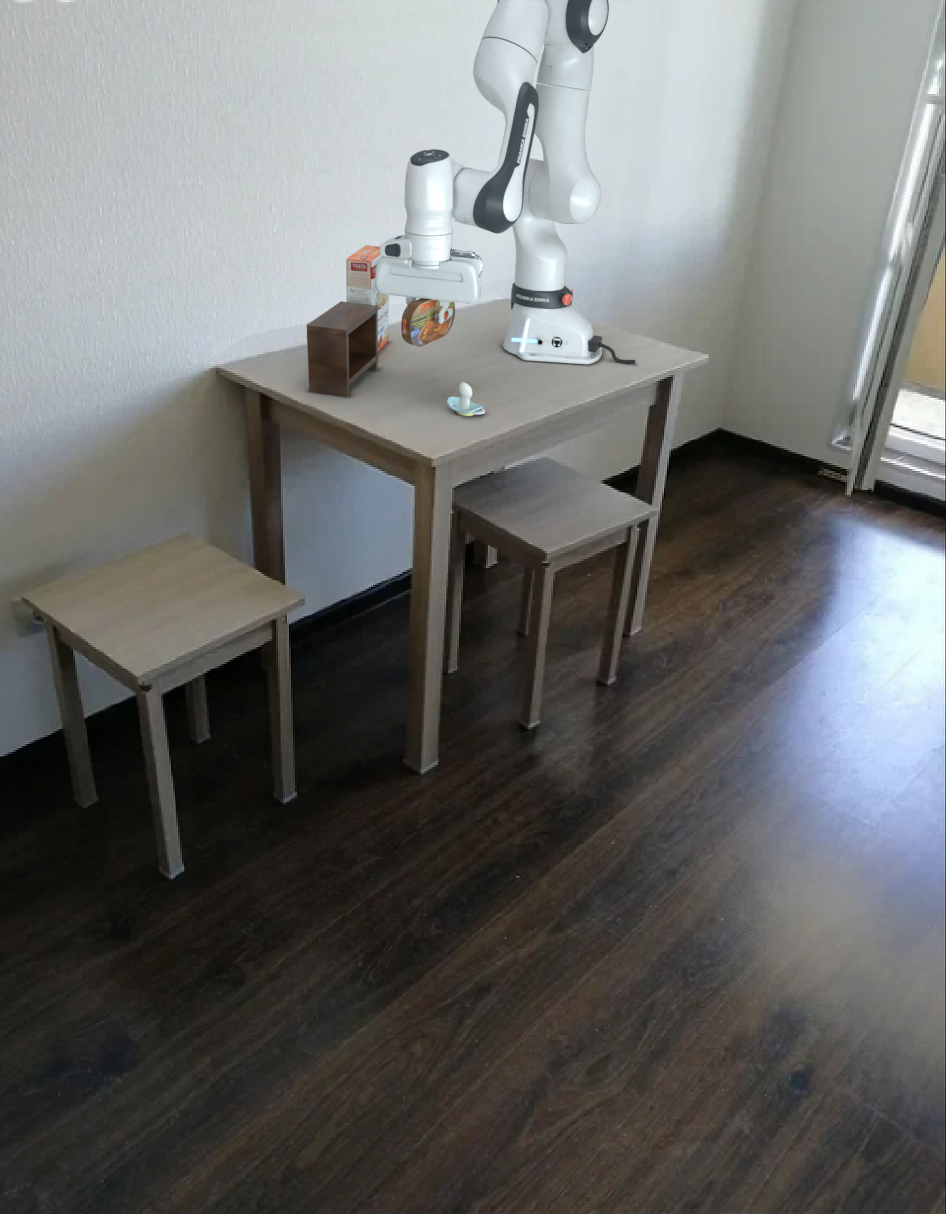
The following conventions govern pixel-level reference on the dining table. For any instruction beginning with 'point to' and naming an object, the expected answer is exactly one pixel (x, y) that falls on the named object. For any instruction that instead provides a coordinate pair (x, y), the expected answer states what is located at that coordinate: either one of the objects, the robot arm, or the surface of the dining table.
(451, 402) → the pacifier
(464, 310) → the dining table surface
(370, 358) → the brown hollow box
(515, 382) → the dining table surface
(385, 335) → the cracker box
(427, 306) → the tin
